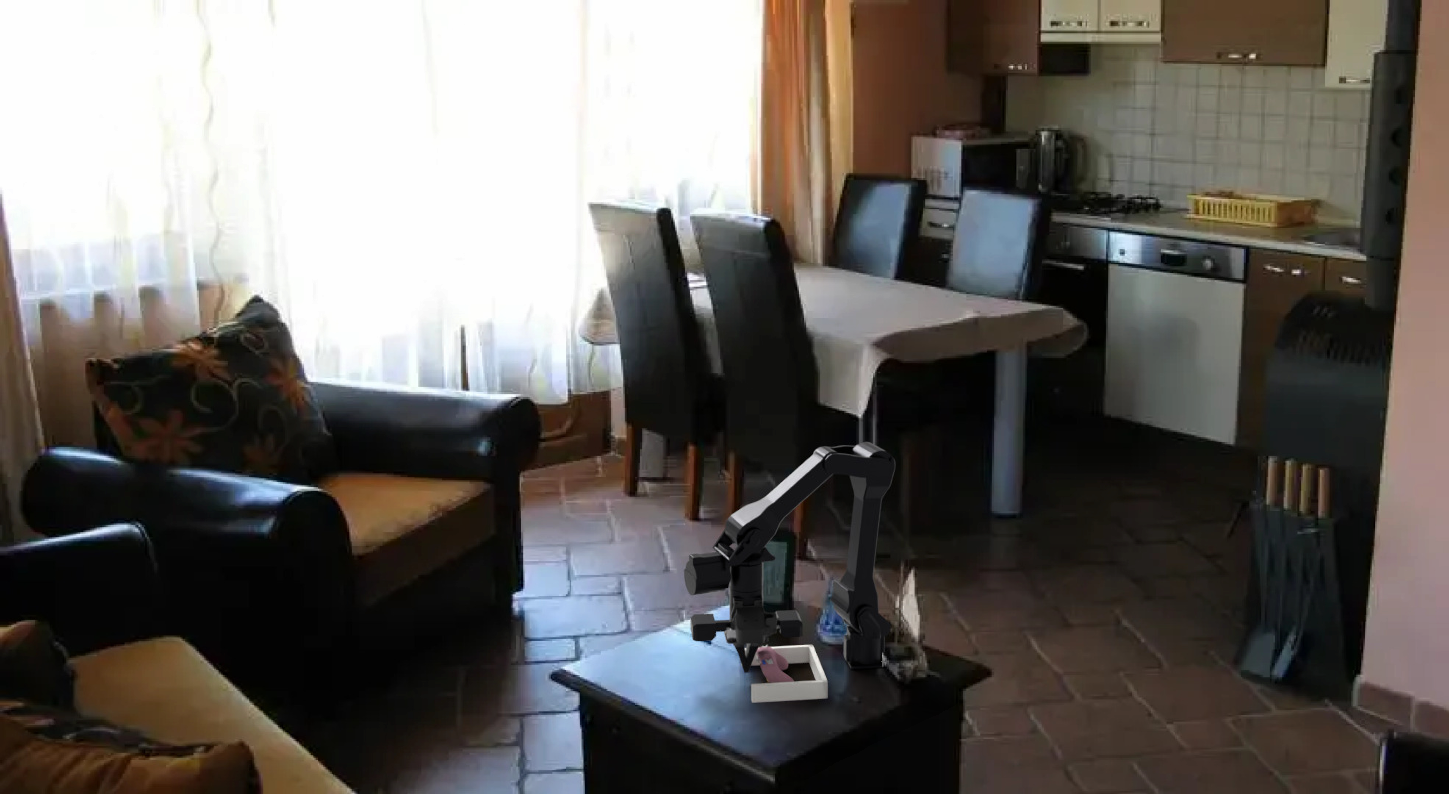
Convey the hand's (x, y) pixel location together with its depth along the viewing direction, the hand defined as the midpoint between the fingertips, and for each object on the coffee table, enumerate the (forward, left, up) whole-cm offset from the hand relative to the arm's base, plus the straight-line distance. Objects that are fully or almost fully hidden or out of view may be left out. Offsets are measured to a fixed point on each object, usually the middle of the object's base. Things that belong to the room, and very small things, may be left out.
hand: (746, 672), depth 258 cm
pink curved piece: (-5, 0, -2) cm, 5 cm away
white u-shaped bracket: (-6, 0, -2) cm, 6 cm away
